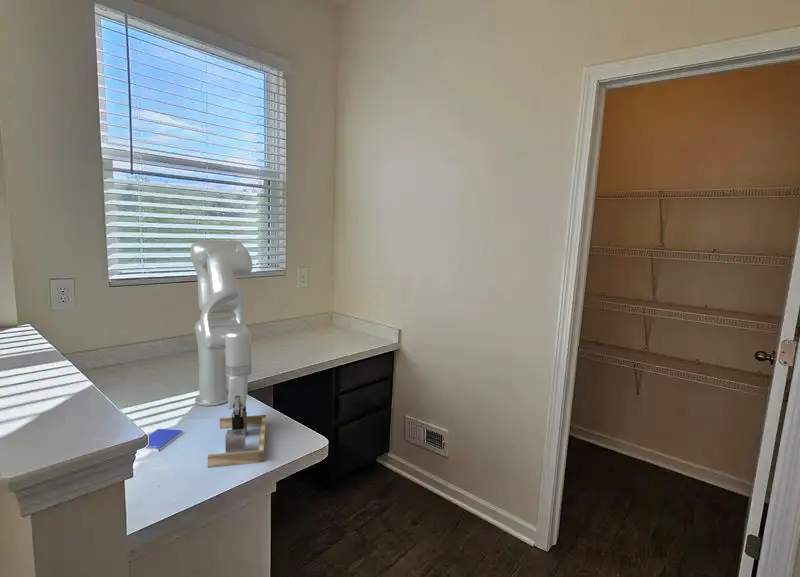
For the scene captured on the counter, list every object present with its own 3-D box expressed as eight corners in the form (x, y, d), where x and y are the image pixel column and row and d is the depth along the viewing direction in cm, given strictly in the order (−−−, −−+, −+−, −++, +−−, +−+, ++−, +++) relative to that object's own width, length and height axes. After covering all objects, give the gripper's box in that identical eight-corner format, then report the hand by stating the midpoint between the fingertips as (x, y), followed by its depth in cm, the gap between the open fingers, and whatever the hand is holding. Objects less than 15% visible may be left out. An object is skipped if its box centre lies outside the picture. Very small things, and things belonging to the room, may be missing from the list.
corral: (220, 427, 145) (220, 418, 144) (266, 423, 149) (266, 414, 148) (207, 467, 119) (207, 456, 119) (263, 461, 123) (263, 451, 123)
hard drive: (158, 448, 127) (182, 430, 140) (130, 446, 128) (157, 428, 140) (158, 453, 128) (182, 434, 140) (131, 451, 128) (157, 433, 140)
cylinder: (232, 432, 141) (232, 411, 140) (247, 431, 142) (247, 410, 142) (231, 438, 137) (231, 416, 136) (246, 437, 138) (246, 415, 137)
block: (227, 449, 130) (227, 430, 129) (245, 448, 131) (245, 428, 130) (225, 457, 125) (225, 436, 125) (244, 455, 127) (244, 435, 126)
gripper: (228, 362, 145) (229, 413, 147) (222, 378, 128) (223, 435, 130) (253, 361, 147) (253, 411, 149) (249, 377, 130) (250, 433, 132)
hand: (239, 422), depth 139 cm, fingers open, 9 cm apart
